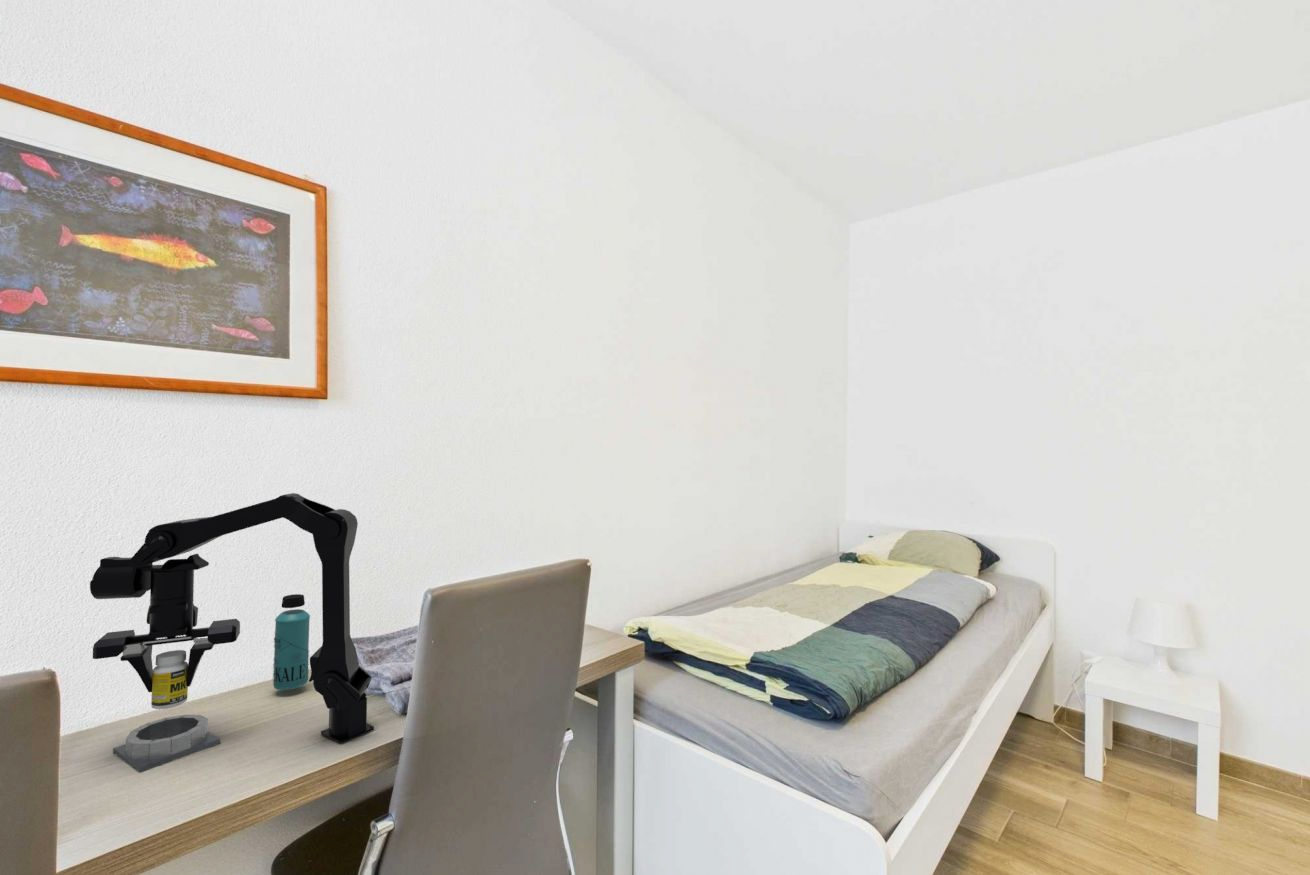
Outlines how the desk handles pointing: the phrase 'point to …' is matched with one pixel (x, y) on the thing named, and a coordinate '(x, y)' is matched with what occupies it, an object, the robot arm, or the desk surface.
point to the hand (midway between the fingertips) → (170, 688)
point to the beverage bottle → (291, 645)
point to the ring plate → (165, 741)
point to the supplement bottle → (169, 680)
